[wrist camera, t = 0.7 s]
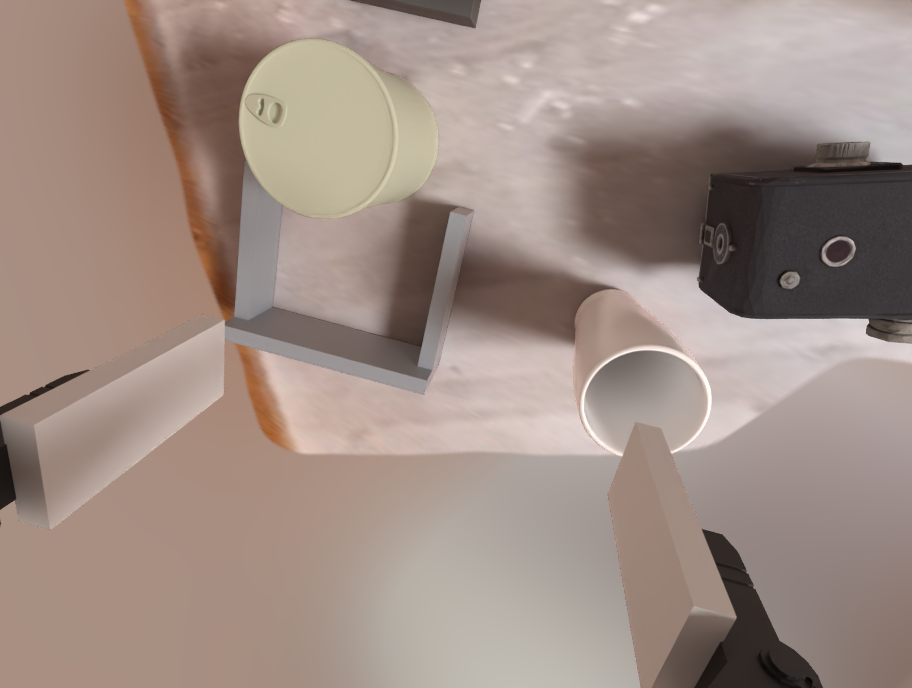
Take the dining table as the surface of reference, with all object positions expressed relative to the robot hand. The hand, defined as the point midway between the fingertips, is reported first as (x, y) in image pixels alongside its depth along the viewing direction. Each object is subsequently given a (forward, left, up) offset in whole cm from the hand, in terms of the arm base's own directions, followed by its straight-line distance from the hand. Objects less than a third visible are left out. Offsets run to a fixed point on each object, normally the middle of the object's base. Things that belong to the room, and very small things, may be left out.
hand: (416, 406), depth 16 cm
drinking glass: (+2, +10, -26) cm, 28 cm away
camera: (-8, +20, -26) cm, 34 cm away
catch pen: (+3, -10, -26) cm, 28 cm away
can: (-6, -10, -26) cm, 29 cm away
